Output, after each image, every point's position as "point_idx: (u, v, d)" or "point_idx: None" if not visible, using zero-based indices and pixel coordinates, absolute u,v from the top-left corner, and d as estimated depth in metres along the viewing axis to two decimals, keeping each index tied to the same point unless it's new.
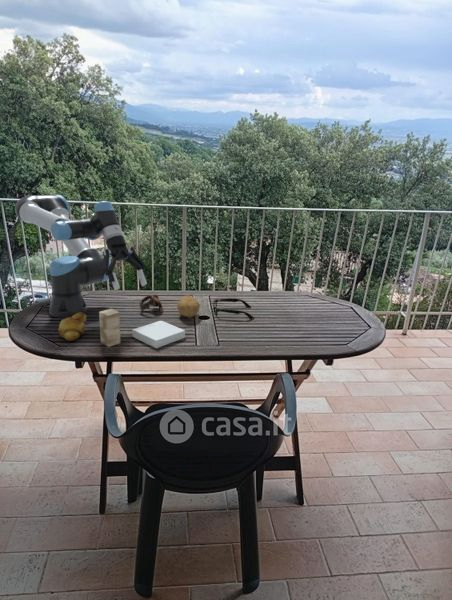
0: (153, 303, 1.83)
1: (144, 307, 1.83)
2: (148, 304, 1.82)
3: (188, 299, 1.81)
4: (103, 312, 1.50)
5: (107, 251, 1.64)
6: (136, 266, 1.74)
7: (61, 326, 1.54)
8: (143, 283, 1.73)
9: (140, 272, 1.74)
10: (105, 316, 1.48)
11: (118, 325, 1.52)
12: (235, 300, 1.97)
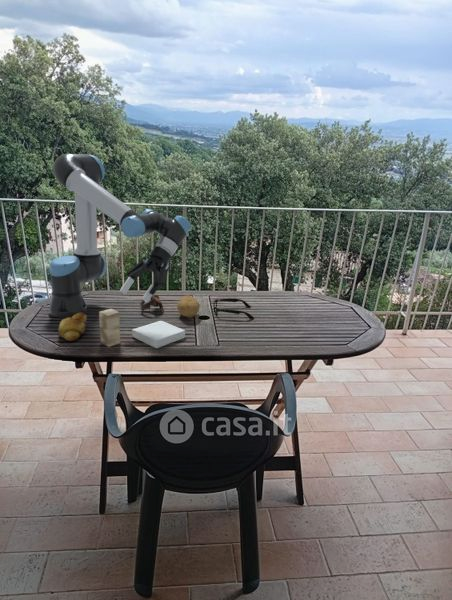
0: (154, 303, 1.83)
1: (145, 307, 1.83)
2: (149, 304, 1.82)
3: (188, 299, 1.81)
4: (103, 312, 1.50)
5: None
6: (136, 275, 1.63)
7: (61, 326, 1.54)
8: (124, 291, 1.62)
9: (131, 282, 1.63)
10: (105, 316, 1.48)
11: (118, 325, 1.52)
12: (235, 300, 1.97)
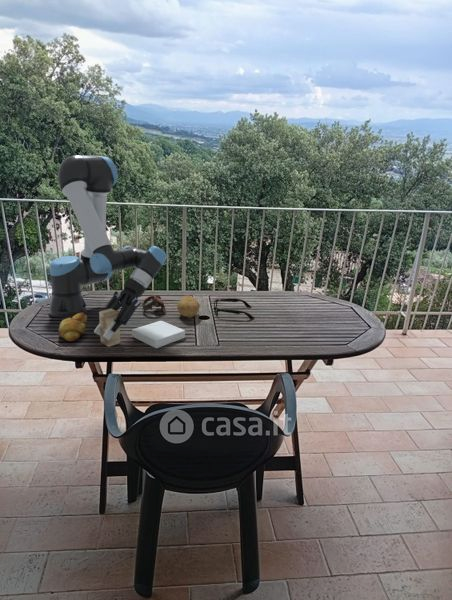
0: (156, 304, 1.82)
1: (147, 308, 1.82)
2: (151, 305, 1.82)
3: (188, 299, 1.81)
4: (103, 312, 1.50)
5: None
6: None
7: (61, 326, 1.54)
8: (98, 332, 1.53)
9: None
10: (105, 316, 1.48)
11: None
12: (235, 300, 1.97)
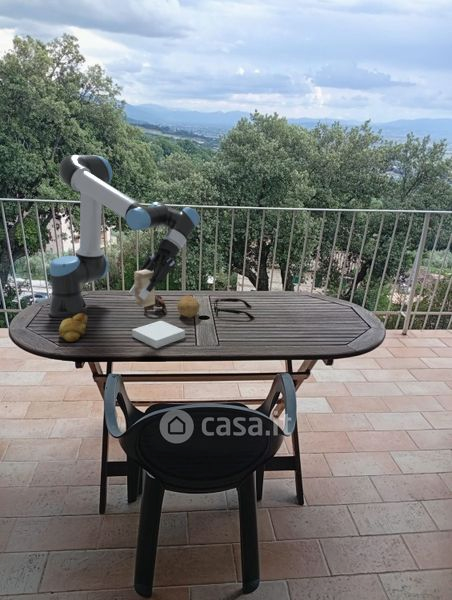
0: (157, 304, 1.82)
1: (148, 308, 1.82)
2: (152, 305, 1.82)
3: (188, 299, 1.81)
4: (138, 272, 1.49)
5: None
6: None
7: (61, 327, 1.53)
8: (133, 293, 1.52)
9: None
10: (140, 275, 1.48)
11: None
12: (236, 300, 1.97)
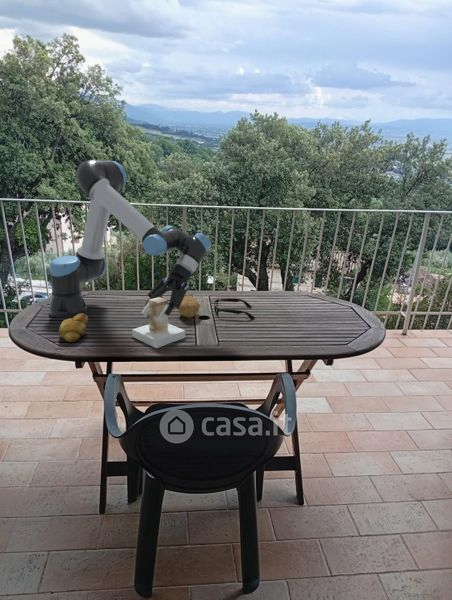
0: None
1: None
2: None
3: (188, 299, 1.81)
4: (153, 300, 1.56)
5: None
6: (157, 296, 1.61)
7: (61, 327, 1.53)
8: (145, 313, 1.59)
9: None
10: (155, 304, 1.54)
11: None
12: (236, 300, 1.97)
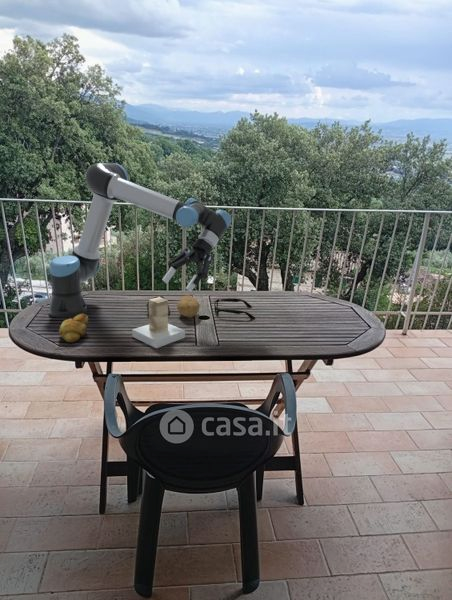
0: None
1: None
2: None
3: (188, 299, 1.81)
4: (153, 300, 1.56)
5: None
6: (177, 265, 1.70)
7: (61, 327, 1.53)
8: (166, 280, 1.68)
9: (173, 272, 1.70)
10: (155, 304, 1.54)
11: (167, 313, 1.58)
12: (236, 300, 1.97)
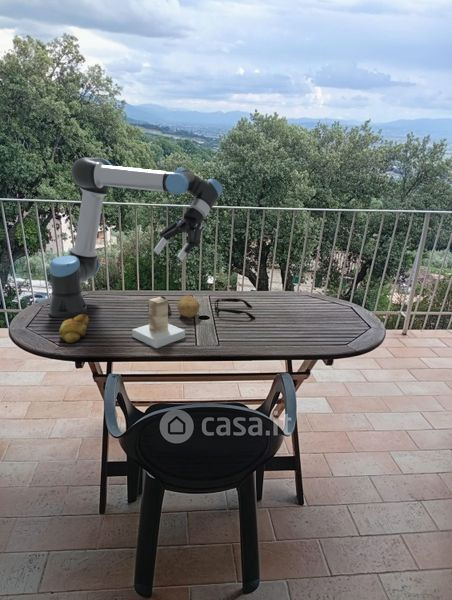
0: None
1: None
2: None
3: (188, 299, 1.81)
4: (153, 300, 1.56)
5: None
6: (169, 236, 1.67)
7: (61, 327, 1.53)
8: (158, 251, 1.65)
9: (165, 242, 1.67)
10: (155, 304, 1.54)
11: (167, 313, 1.58)
12: (236, 300, 1.97)
